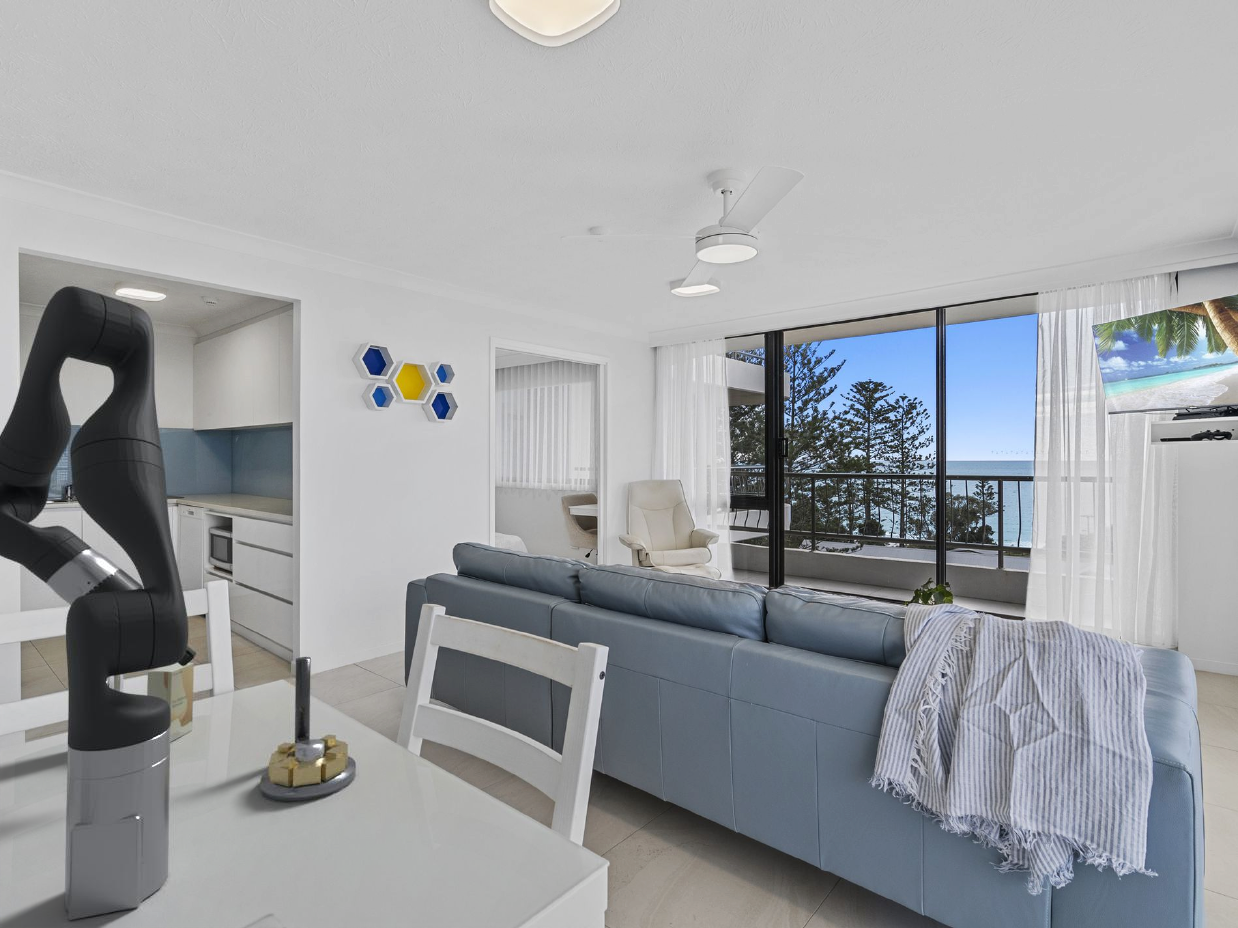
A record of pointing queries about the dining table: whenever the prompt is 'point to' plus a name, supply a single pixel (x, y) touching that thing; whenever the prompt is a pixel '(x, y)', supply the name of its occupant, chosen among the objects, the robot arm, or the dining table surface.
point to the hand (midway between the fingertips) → (190, 660)
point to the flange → (290, 794)
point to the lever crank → (284, 761)
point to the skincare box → (174, 694)
